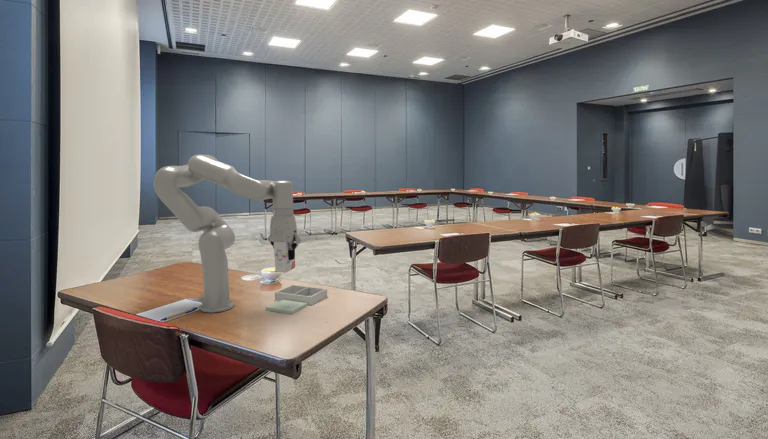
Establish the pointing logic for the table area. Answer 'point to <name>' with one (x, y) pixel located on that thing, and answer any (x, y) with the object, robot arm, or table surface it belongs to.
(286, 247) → the ink cartridge box
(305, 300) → the bin
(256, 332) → the table surface
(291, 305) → the board
